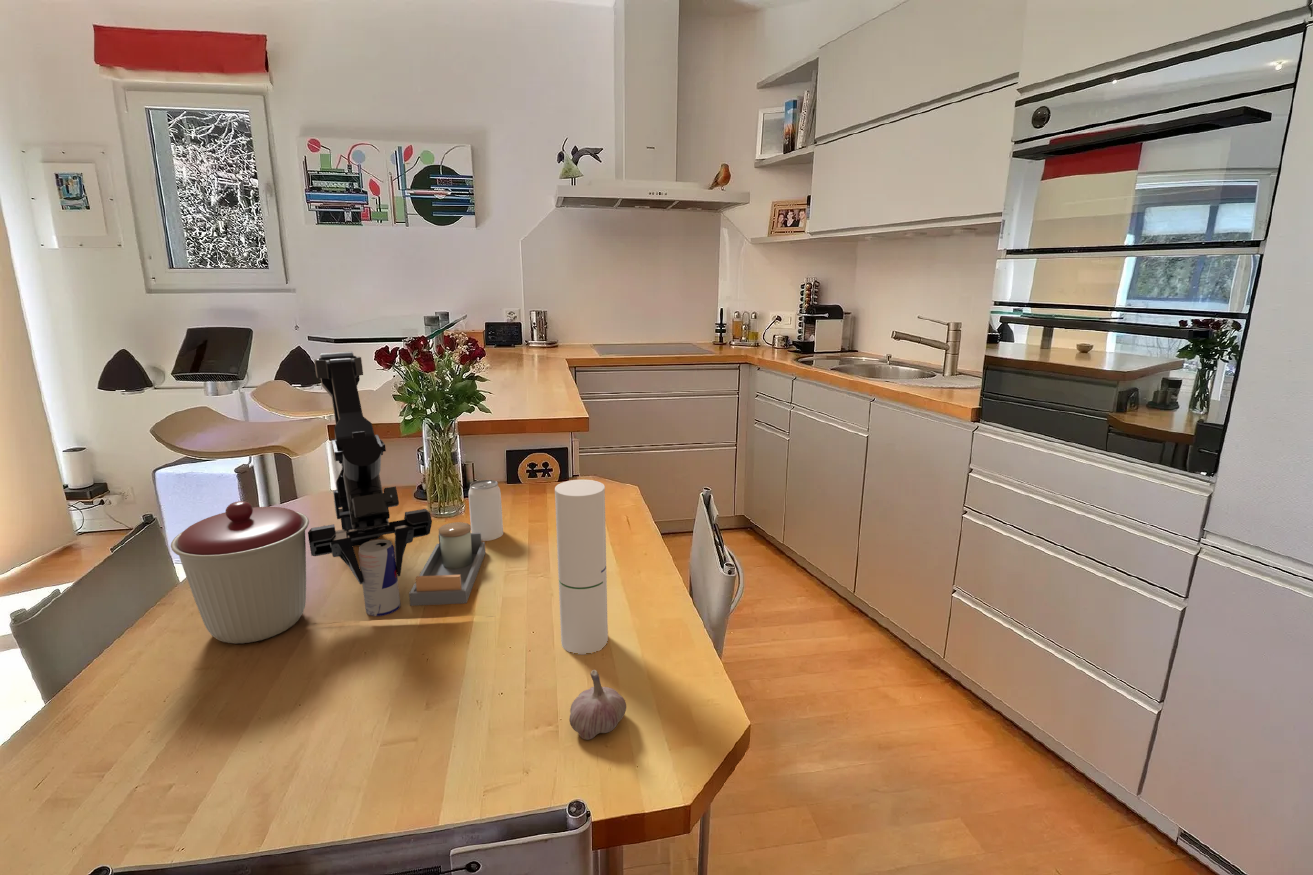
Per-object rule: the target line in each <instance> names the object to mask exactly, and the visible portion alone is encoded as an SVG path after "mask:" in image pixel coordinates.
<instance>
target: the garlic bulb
mask: <svg viewBox="0 0 1313 875" xmlns="http://www.w3.org/2000/svg"><path fill="white" fill-rule="evenodd" d="M590 676H591V677H590V678H591V679H592V684H593V686H591V687H590V688H589V689H585V690H583V691H581V692H580V693H579V695H578V696H577V697H576V698H575V699H573V701H572V703H571V704H570V708H569V709H570V710H569V713H570V714H569V719H568V720H569V724H570V726H571V728H572V729H573V731H575V732H577V734H578V735H579V737H580V738H581V739H583V740H586V741H588V740H592V739H594V738H595V737H596V736H597V735H598V734H607V733H610V732H612V731H613V730H614V729H616V728H617V726H618V724H619V722H620V721H621V720H622V719H623V718H624V716H625V715H626V711H627V702H626V700H625V698H624V697H623V696H622V695H621V694H620V693H619V692H618V691H617V690H615V689H614V688H611V687H608V686H602V684H601V680H600V674H599V672H598V671H597V670H596V669H592V670H591V672H590Z"/></svg>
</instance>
